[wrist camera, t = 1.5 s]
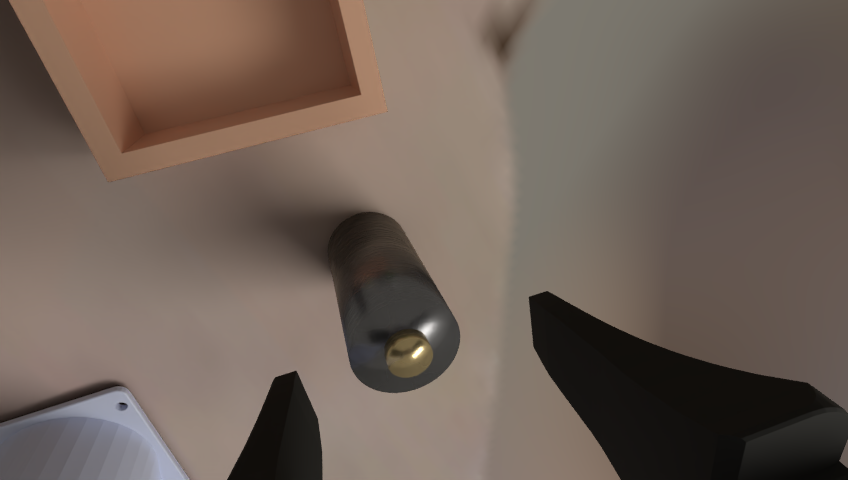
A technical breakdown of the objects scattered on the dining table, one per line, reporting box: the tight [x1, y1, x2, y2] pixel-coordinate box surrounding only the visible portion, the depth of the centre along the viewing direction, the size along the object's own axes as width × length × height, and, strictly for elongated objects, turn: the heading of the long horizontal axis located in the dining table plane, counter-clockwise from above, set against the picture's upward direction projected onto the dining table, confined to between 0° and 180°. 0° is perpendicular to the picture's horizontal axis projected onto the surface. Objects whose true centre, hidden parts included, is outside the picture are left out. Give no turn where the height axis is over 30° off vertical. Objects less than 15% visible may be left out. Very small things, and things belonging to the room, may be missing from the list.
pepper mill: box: [328, 212, 460, 393], centre depth 19 cm, size 4×4×9 cm
